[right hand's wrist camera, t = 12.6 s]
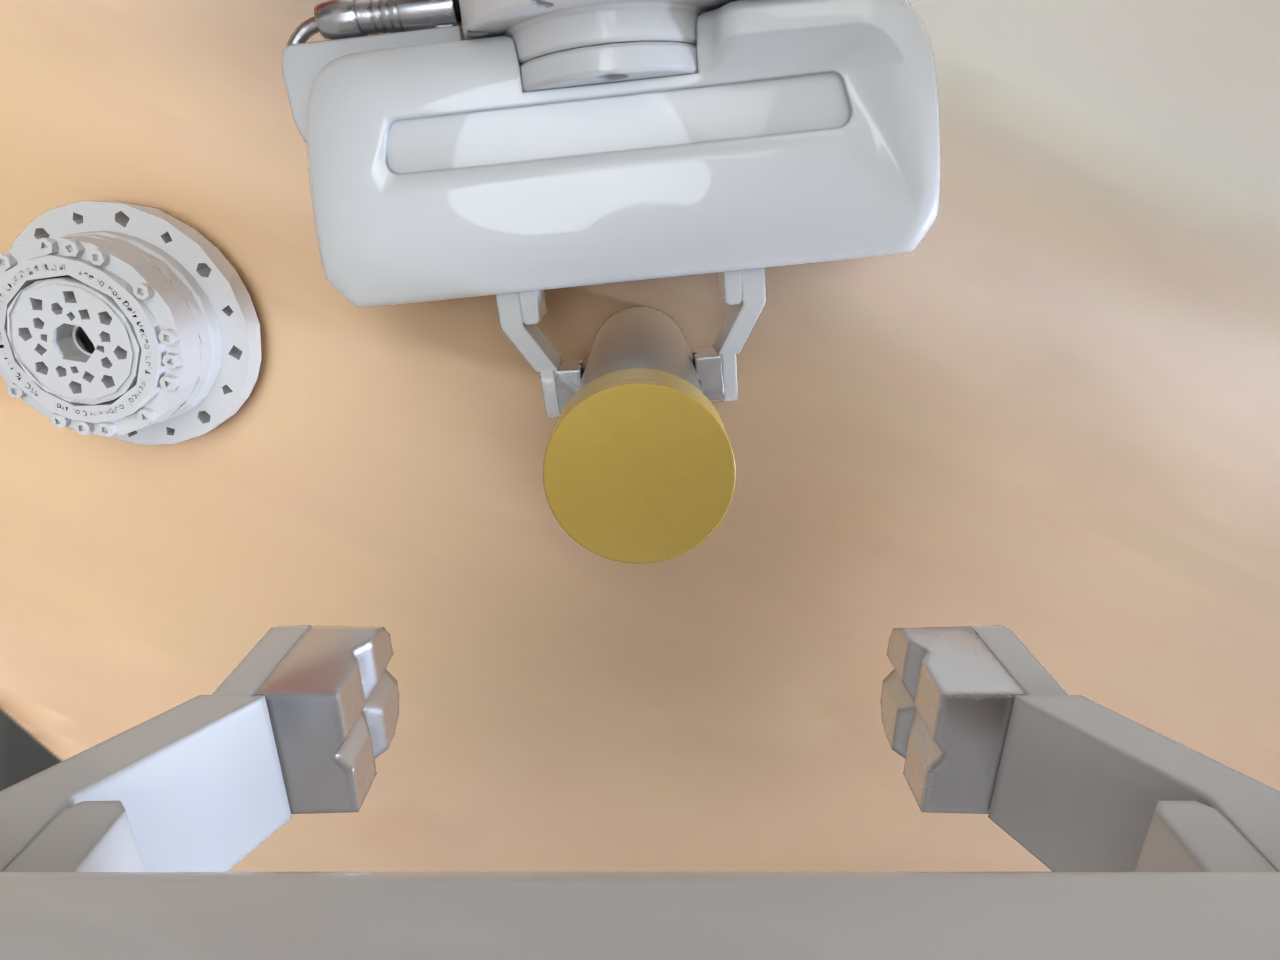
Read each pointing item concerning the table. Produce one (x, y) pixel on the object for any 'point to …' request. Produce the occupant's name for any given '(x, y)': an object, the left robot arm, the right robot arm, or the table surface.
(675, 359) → the grey cylinder
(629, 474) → the lid
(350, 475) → the table surface
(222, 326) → the mechanical component
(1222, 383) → the table surface
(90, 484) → the table surface
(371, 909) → the right robot arm
